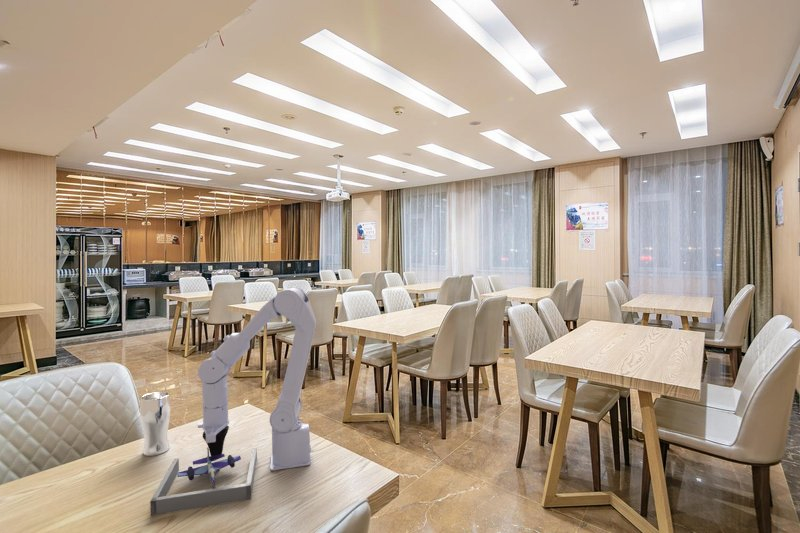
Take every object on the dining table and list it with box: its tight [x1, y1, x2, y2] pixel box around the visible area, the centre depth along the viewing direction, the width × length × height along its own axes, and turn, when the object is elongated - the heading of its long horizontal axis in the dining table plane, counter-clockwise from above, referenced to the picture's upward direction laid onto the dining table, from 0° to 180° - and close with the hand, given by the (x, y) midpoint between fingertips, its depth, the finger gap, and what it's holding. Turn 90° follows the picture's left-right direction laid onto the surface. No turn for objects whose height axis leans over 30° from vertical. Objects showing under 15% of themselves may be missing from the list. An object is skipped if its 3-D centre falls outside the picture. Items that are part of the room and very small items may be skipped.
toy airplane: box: [176, 446, 242, 489], centre depth 92 cm, size 13×14×4 cm
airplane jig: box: [150, 447, 258, 516], centre depth 90 cm, size 19×17×3 cm
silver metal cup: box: [139, 391, 171, 457], centre depth 106 cm, size 7×7×15 cm
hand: (216, 458), depth 99 cm, fingers closed
